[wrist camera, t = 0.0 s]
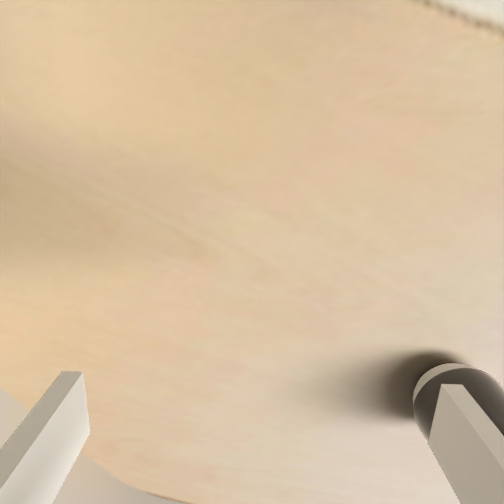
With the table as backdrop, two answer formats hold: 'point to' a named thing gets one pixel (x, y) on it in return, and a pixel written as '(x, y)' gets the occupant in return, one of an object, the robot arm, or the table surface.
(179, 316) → the table surface
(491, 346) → the table surface
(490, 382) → the dark grey egg shape
